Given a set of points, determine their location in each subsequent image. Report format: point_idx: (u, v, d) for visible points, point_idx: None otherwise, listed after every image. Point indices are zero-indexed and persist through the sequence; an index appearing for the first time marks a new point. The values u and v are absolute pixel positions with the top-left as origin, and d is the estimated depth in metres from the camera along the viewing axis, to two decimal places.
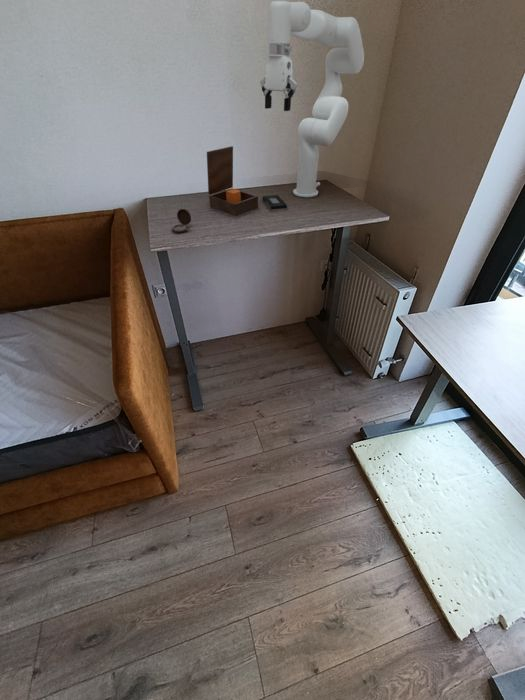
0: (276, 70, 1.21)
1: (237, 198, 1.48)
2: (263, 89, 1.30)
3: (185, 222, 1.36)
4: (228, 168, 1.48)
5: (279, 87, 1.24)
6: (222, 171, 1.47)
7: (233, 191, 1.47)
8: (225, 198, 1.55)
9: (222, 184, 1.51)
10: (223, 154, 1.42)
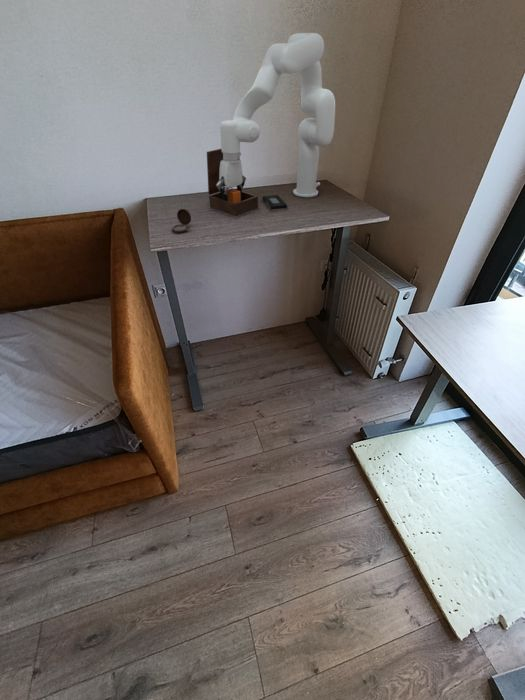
0: (237, 171, 1.41)
1: (237, 198, 1.48)
2: (222, 190, 1.42)
3: (185, 222, 1.36)
4: None
5: (238, 183, 1.45)
6: None
7: (233, 191, 1.47)
8: None
9: None
10: None
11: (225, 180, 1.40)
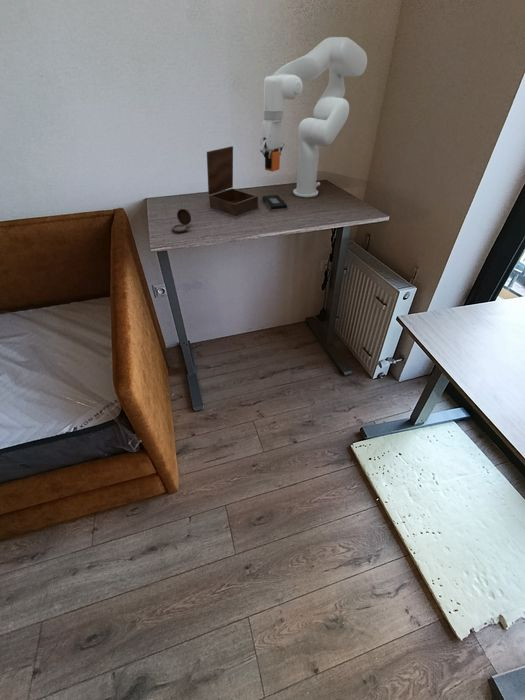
0: (279, 132, 1.36)
1: (276, 159, 1.42)
2: (266, 153, 1.38)
3: (185, 222, 1.36)
4: (228, 168, 1.48)
5: (280, 145, 1.40)
6: (222, 171, 1.47)
7: (272, 151, 1.41)
8: (225, 198, 1.55)
9: (222, 184, 1.51)
10: (223, 154, 1.42)
11: (267, 144, 1.36)
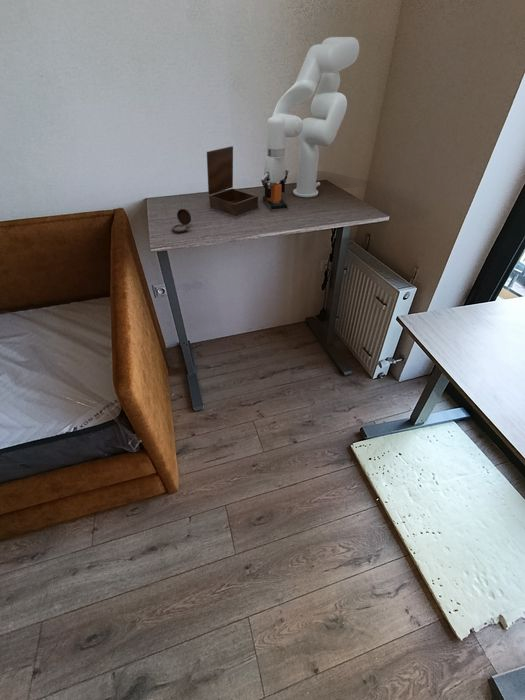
0: (281, 166, 1.45)
1: (278, 191, 1.51)
2: (266, 184, 1.46)
3: (185, 222, 1.36)
4: (228, 168, 1.48)
5: (282, 177, 1.49)
6: (222, 171, 1.47)
7: (275, 184, 1.50)
8: (225, 198, 1.55)
9: (222, 184, 1.51)
10: (223, 154, 1.42)
11: (270, 175, 1.44)
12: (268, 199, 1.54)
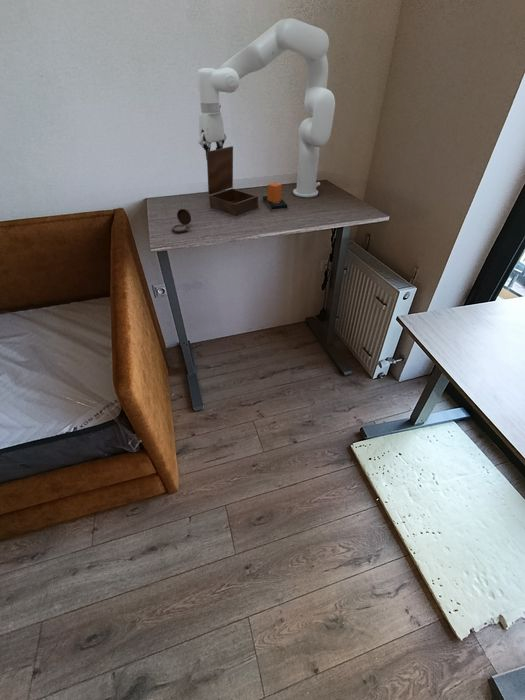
0: (217, 124, 1.36)
1: (278, 191, 1.51)
2: (205, 146, 1.38)
3: (185, 222, 1.36)
4: (228, 168, 1.48)
5: (220, 137, 1.40)
6: (222, 171, 1.47)
7: (275, 184, 1.50)
8: (225, 198, 1.55)
9: (222, 184, 1.51)
10: (223, 154, 1.42)
11: (205, 136, 1.36)
12: (268, 199, 1.54)
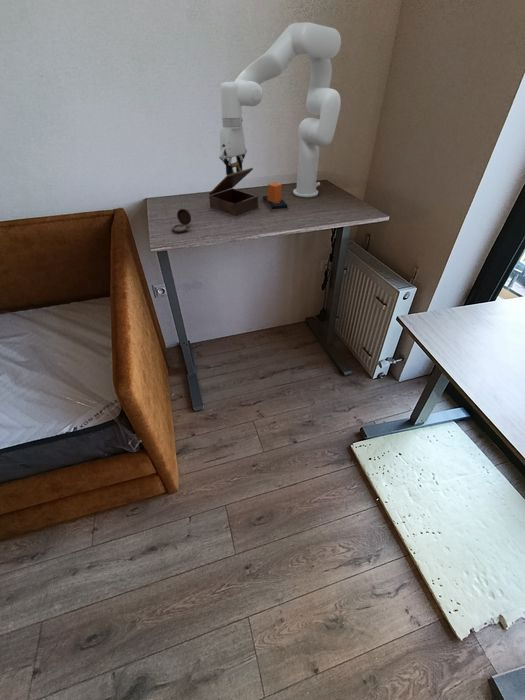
0: (239, 139, 1.32)
1: (278, 191, 1.51)
2: (226, 160, 1.35)
3: (185, 222, 1.36)
4: (238, 180, 1.48)
5: (241, 152, 1.37)
6: (231, 182, 1.46)
7: (275, 184, 1.50)
8: (225, 198, 1.55)
9: (225, 188, 1.50)
10: (241, 174, 1.41)
11: (226, 151, 1.32)
12: (268, 199, 1.54)
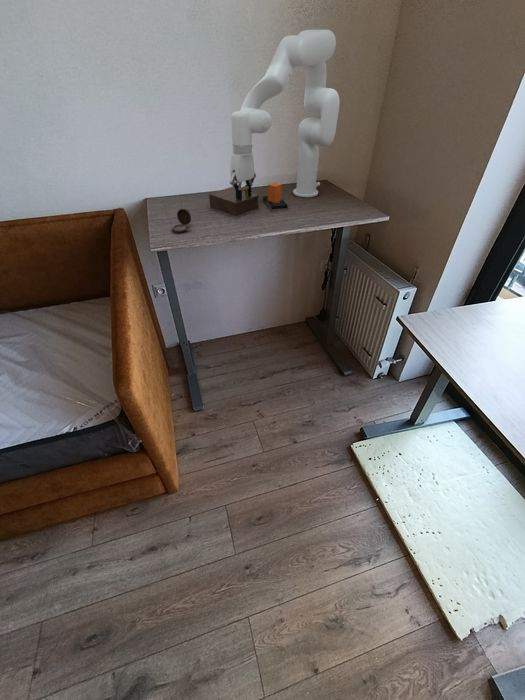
0: (248, 164, 1.35)
1: (278, 191, 1.51)
2: (236, 185, 1.38)
3: (185, 222, 1.36)
4: None
5: (250, 176, 1.40)
6: None
7: (275, 184, 1.50)
8: None
9: None
10: None
11: (237, 176, 1.35)
12: (268, 199, 1.54)
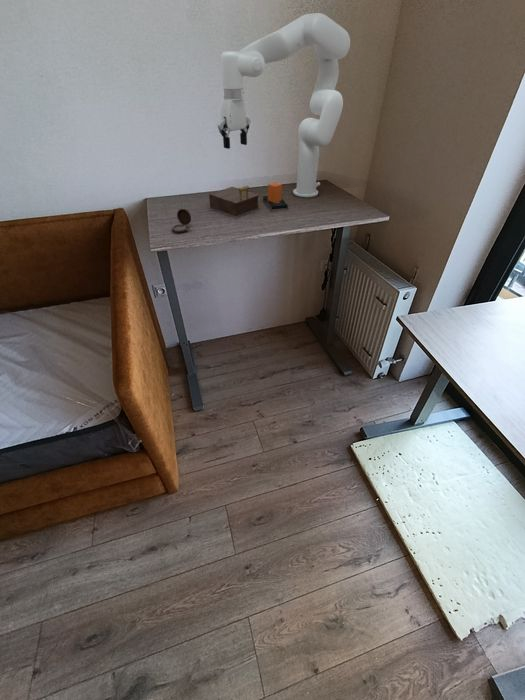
0: (240, 111, 1.30)
1: (278, 191, 1.51)
2: (223, 132, 1.30)
3: (185, 222, 1.36)
4: None
5: (242, 125, 1.34)
6: None
7: (275, 184, 1.50)
8: None
9: None
10: None
11: (227, 120, 1.29)
12: (268, 199, 1.54)
